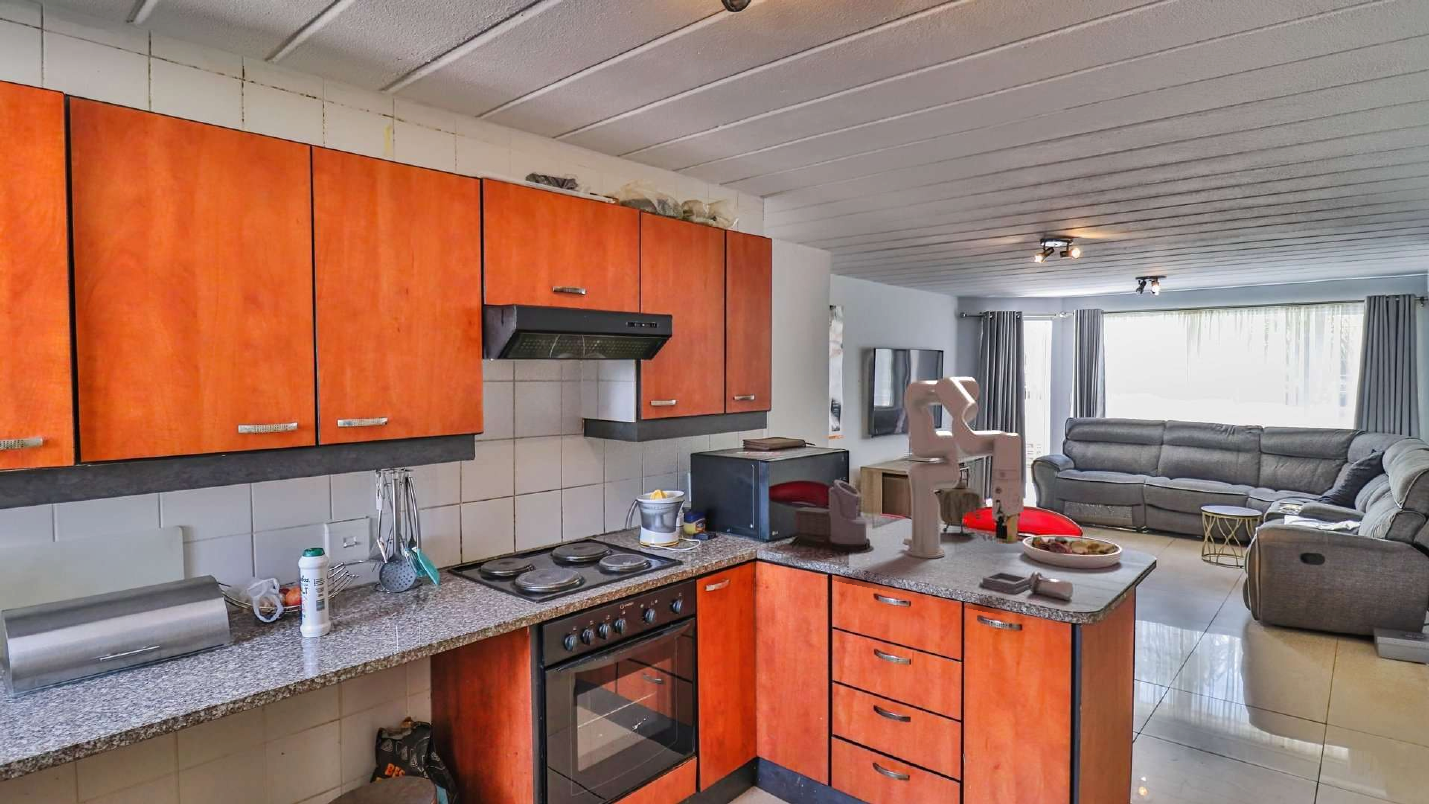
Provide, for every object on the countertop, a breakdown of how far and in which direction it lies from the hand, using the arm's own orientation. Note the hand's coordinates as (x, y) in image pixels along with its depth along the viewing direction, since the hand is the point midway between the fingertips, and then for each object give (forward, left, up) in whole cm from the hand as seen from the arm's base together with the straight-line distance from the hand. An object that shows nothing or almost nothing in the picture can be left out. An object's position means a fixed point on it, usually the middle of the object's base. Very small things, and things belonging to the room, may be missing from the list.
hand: (1007, 536), depth 216 cm
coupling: (0, 0, -2) cm, 2 cm away
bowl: (-2, +46, -15) cm, 48 cm away
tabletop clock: (-47, +53, -15) cm, 73 cm away
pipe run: (+13, 0, -15) cm, 20 cm away
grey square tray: (0, 0, -15) cm, 15 cm away
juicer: (-68, +2, -15) cm, 70 cm away
